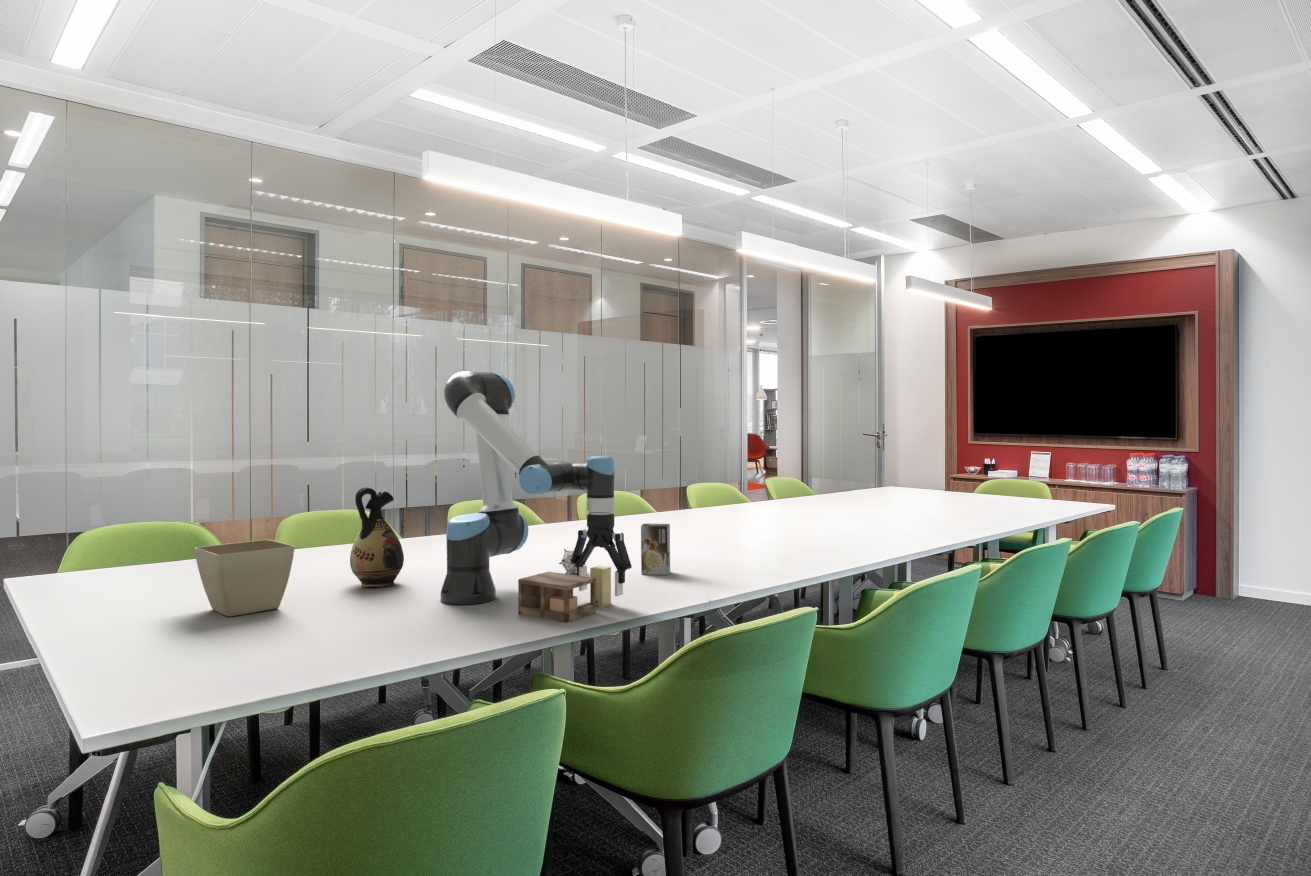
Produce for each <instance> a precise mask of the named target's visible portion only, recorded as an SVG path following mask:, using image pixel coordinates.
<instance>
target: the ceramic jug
mask: <svg viewBox="0 0 1311 876" xmlns="http://www.w3.org/2000/svg"><path fill="white" fill-rule="evenodd" d="M366 495H369V496H370V499H369V500H368V501H367V503H366V505H365V507H364V503H363V497H364V496H366ZM354 498H355V499H354V500H355V506H356V508H357V512H358V514H359V517H360V520H361V529H360V531H359V532H358V533H357V536H356V537H355V539H354V541H353V544H352V546H351V551H350V556H349V557H350V558H349V564H350V569H351V572H352V574H353V575H355V577H356V578H357V580H359V582H360V583H361V586H362V587H363V588H366V587H367V588H368V587H370V588H384V587H391V586H394V585H395V580H396V579H397V577H398V575H399V574H400V572H401V570H402V569H403V567H404V561H405V560H404V559H405V555H404V549H403V546H402V543H401V541H400V539H399V538H398V535H397V533H396V532H395V531H394V530H393V528H392V527H391V525H390V524H389V523H388V522H387V521H386V520H385V518H384V517H383V512H382V509H383V507H385V506H386V505H388V504H390V503H391V502H394V501H395V500H394V499H395V498H394V497H393V495H392V494H391V493H389V492H388V491H386V490H385V491H383V492H381V491H378V493H377V491H375V489H373V488H371V487H366V486H365V487H362V488H360V489H358V490H357V491H356V493H355V496H354ZM366 510H369V514H367V513H366Z"/></svg>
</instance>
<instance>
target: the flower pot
mask: <svg viewBox="0 0 1311 876" xmlns="http://www.w3.org/2000/svg"><path fill="white" fill-rule="evenodd" d="M295 547H296V546H295V545H293V544H289V543H285V542H281V541H277V540H273V539H260V540H250V541H249V540H248V541H240V542H231V543H222V544H221V543H220V544H213V545H204V546H203V545H202V546H196V547H193V549H194V556H195V561H196V565H197V569H198V573H199V575H200V576H199V577H200V580H201V584H202V586H203V590H204V592H205V595H206V597H207V600H208V602H209V605H210V606H211V609H212V611H215V612H217V613H219V614H221V615H224V616H225V617H234V616H241V615H246V614H253V613H258V612H264V611H269V610H270V611H271V610H275V609H279V608H280V605H281V603H282V600H283V598H284V595H285V592H286V589H287V586H288V582H289V578H290V575H291V570H292V566H293V565H292V564H293V561H294V553H295Z"/></svg>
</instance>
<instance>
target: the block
mask: <svg viewBox="0 0 1311 876" xmlns="http://www.w3.org/2000/svg"><path fill="white" fill-rule="evenodd" d="M589 571H590V572H589V574H590V576H589V577H592V578H596V607H597V606H598V607H605V606H608V605H611V604H612V568H611V567H610V566H605V565H604V566H603V565H597V566H593V567H590V569H589ZM589 605H590V602H587V603H585V604H580V605H578V596H577V595H573V596H571V595H569V612H571V611H574V610H577V609H580V608H583V607H586V606H589ZM550 610H552V611H558V612H564V594H561V595H558V596H554V597H551V598H550Z"/></svg>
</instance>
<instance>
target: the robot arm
mask: <svg viewBox="0 0 1311 876" xmlns="http://www.w3.org/2000/svg"><path fill="white" fill-rule="evenodd" d="M443 393H444V394H443V396H444V400H445V403H446V405H447V407H448V408H449V410H450V411H451V412H452V413H453V415H455V417H456V418H457V419H458V420H459V421H462V422H466V423H467V424H468V425H469V426H470V427H471V428H472V429H473V430H474V431H475V435H476V445H477V446H476V447H477V455H478V467H479V474H480V485H481V486H480V487H481V495H482V496H481V497H482V507H481V508H479V510H478V512H473V513H472V512H471V513H468V514H467V513H465V514H460V515H457V516H454V517H451V518H450V519H449V520H448V522H447V524H446V534H445V537H446V575H445V578H444V580H443V584H442V587H441V590H440V601H441V602H442V603H444V604H449V605H476V604H482V603H488V602H490V601H493V600H495V599H496V598H497V590H496V586H495V583H494V579H493V577H492V574H491V570H490V558H492V557H496V556H500V555H501V556H502V555H508V554H511V553H513V552H516V551H518V550H520V549H521V548H522V547H524V545H525V544H526V542H527V539H528V537H529V525H528V522H527V519H526V518H524V515H522V514H521V513H520V512H519V506H518V505H517V504H516V503H515V502H514V501H513V495H512V493H513V492H512V484H511V474H510V468H511V469H513V470H514V472H515V473H516V474H517V475H518V476H519V478H518V481H519V482H518V483H519V484H520V485H519V486H520V488H521V489H522V490H523V491H524V492H525V493H527V494H529V495H543V494H547V493H553V492H556V493H557V492H562V491H564V492H565V491H571V490H573V491H586V511H587V514H586V527H587V529H586V528H585V529H579V530H578V531H577V540H576V543H575V547H574V552H573V555H572V559H571V563H572V564H573V563H574V564H575V565H576V566H577V572H576V575H577V576H585V577H588V565H586V563H587V561H588V559H589V558H590V556H591V554H592V553H593V551H594V549H595V548H597V547H599V548H604V550H605V551H607V553H608V555H609V557H610V559H611V560H612V561H611V562H612V564H613V565H614V567H615V568H616V571H614V596H615V597H619V596H621V595H623V594H624V583H626V571H628V570H630V569H632V567H633V566H632V564H631V560H630V556H629V554H628V550H627V547H626V544H625V535H624V533H623V532H620V533H615V531H614V527H615V514H614V513H613V512H615V473H616V471H615V461H614V458H613V457H612V456H609V455H607V456H606V455H603V456H602V455H601V456H600V455H594V456H592V455H590V456H588V457H587V458H586V461H585V463H584V462H583V463H582V462H568V461H563V462H562V461H560V462H554V463H547V462H546V461H545V460H544V459H543V458H542V456H540V455H539V454H538V453H537V452H536V451H535V450H534V449H533V448H532V447H531V446H530V445H529V444H528V443H527V442H526V441H525V440H524V438H522V437H521V436H520V435H519V434H518V432H516V431H515V430H514V429H513V428H512V427H511V426H510V425H509V424H508V423H507V422H506V421H507V419H508V418H509V417H510V413H509V410H511V408H512V407H513V403H515V397H516V395H515V394H516V393H515V389H514V386H513V384H512V382H511V381H510V380H509V379H508V377H506V376H504V375H503V374H499V373H495V372H484V371H483V372H481V371H470V370H469V371H467V370H464V371H463V370H462V371H459V372H456V373H454V374H453V375H452V376H451V377H450V378H448V380H447V381H446V384H445V386H444V390H443ZM587 538H588V541H587ZM587 589H588V584H587V585H583V586H580V587H578V591H579V592H582V591H585V590H587Z"/></svg>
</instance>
